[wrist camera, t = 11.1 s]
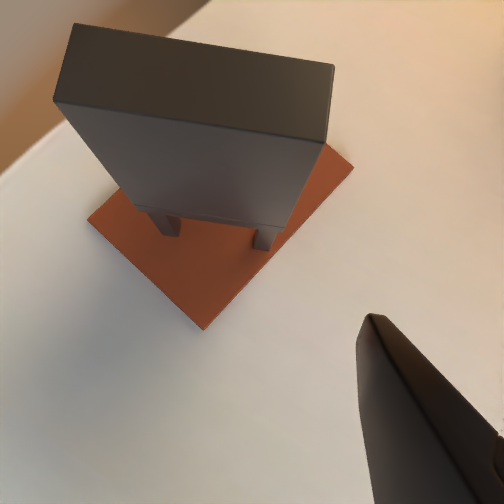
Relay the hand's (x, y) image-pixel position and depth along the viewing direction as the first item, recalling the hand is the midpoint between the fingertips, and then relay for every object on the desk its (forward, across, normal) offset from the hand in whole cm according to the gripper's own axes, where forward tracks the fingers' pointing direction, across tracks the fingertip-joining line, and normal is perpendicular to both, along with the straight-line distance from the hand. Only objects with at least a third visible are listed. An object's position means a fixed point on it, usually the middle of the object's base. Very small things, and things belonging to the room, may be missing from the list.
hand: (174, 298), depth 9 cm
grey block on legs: (+13, 0, +3) cm, 13 cm away
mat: (+13, 0, +3) cm, 13 cm away
